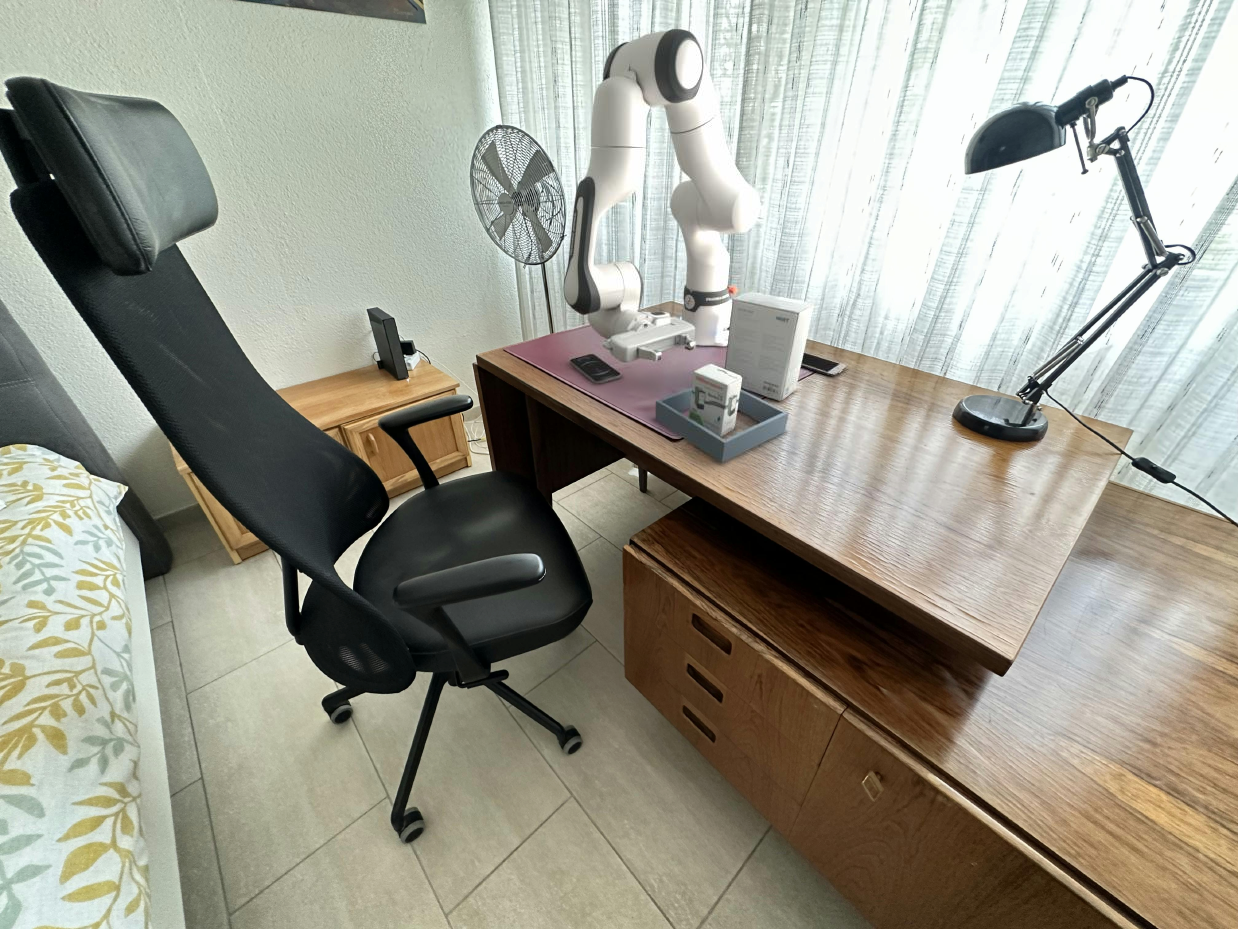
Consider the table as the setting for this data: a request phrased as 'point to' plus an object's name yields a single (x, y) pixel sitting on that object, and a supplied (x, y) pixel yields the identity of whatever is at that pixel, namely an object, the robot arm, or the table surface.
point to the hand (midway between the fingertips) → (676, 351)
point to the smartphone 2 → (821, 364)
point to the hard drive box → (767, 342)
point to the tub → (711, 442)
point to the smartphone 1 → (595, 368)
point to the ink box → (715, 398)
